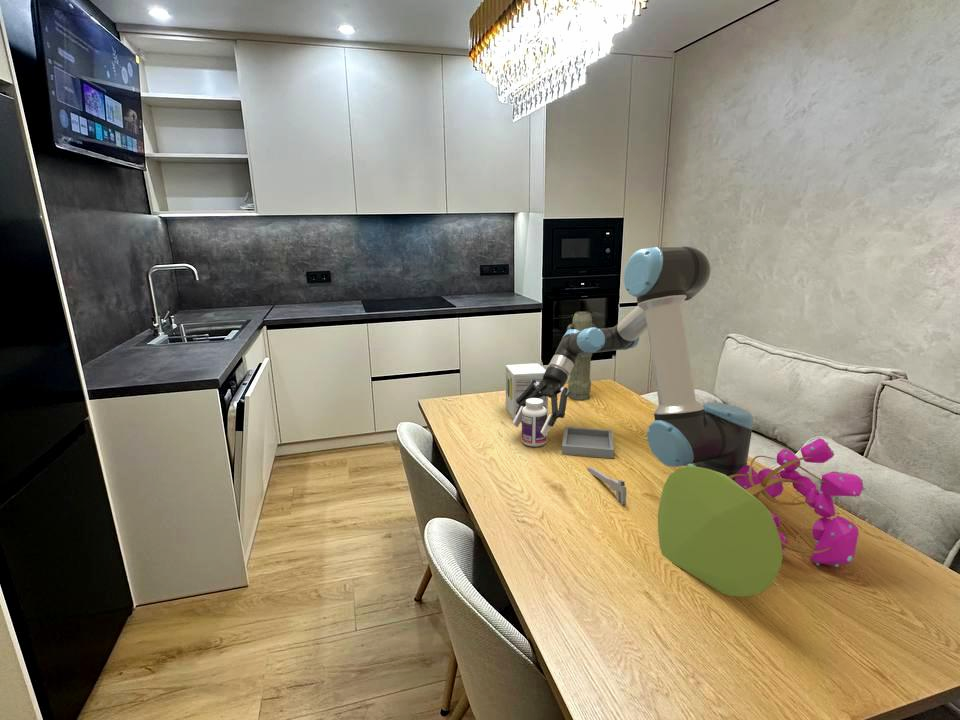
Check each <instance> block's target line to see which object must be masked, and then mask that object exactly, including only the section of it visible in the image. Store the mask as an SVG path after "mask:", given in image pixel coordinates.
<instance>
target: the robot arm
mask: <svg viewBox="0 0 960 720" xmlns="http://www.w3.org/2000/svg"><path fill="white" fill-rule="evenodd" d="M627 260H628V262H627V263H626V265H625V267H624V272H623V284H624V288H625V290H626V291H627V292H628V294H629V295H631V296H633V297H635V298H636V303H637V306H635V307H634V308H633V309H632V310H631V311H630V312H629V313H628V314H627V315H626V316H625V317H624V318H622V320H621V321H620V322H618V323H617V324H616V325H615V326H613V327H604V328H595V327H593V326H592V328H588V329H584V330H582V331H579V330H576V329H574V330H573V329H572V328H571V329H569V330H568V331H567V330H566V332H565V334H564V335H563V336H562V338H561V341H560V342H559V344H558V347H557V348H556V350H555V353H554V354H553V356H552V358H551V360H550V362H549V363H548V367H547V368H546V369H545V370H546V371H545V373H544V375H543V379H542V380H541V381H540V382H538V381H536V380H532V382H531V384H530V386H529V387H528V388H527V389H526V390H525V391H524V392H523V393H522V395H521V396H520V397H519V398H518V399H517V400H516V402H517V404H518V405H519V407H518V409H517V411H516V417H515V419H514V420H513V421H512V425H514V427H516V428H519V426H520V424H521V423H522V409H523V408H524V407H525V406H526V400H527V399H529V398H539V397H542V396H548V398H550V405H551V413H549V414H548V415H547V420H546V422H545V424H544V426H543V428H542V430H541V433H542V434H543V436H546V435H548V433H549V430H550V429H551V428H553V427H554V425H555V424H556V422H557V419H560V418H561V419H564V418H565V416H566V415H565V414H566V409H567V402H568V398H569V397H568V395H569V393H570V391H569V390H568V386H567V387H566V386H565V384H566V383H567V381H568V380H569V377H570V373H571V371H572V369H573V367H574V365H575V363H576V361H577V359H578V357H579V356H583V355H586V354H589V353H592V354H595V353H604V352H605V353H606V352H613V351H622V350H623V351H626V350H630V349H633V348H635V347H637V346H638V344H639V341H640V336H642V335H643V334H644V333H646V331H647V333H648V341H649V347H650V354H651V360H652V368H653V372H654V373H653V374H654V380H655V386H656V392H657V400H658V401H657V402H658V406H657V407H656V409H655V410H654V411H653V416H654V421H652V423H650V424H649V426H648V428H647V430H646V439H647V443H648V447H649V449H650V450H651V453H652V454H653V455H654V457H656V458H657V460H658V461H659V462H660V463H662V464H663V465H664V466H667V467H671V468H679V467H686V466H687V465H688V464H693V465H695V466H696V467H700V468H705V469H709V470H713V471H716V472H719V473H722V474H724V475H726V476H730V475H735V474H737V472H738V471H739V470H740V469H741V468H742V467H743V466H745V465H748V459H749V451H750V446H751V440H752V433H753V429H754V428H753V424H754V423H753V421H754V418H753V415H752V414H751V412H749V411H748V410H746V409H744V408H742V407H739V406H736V405H734V404H733V405H732V404H729V403H723V402H711V401H709V402H705V403H704V404H703V405H701V404H700V403H699V402H697V399H696V394H695V388H694V386H695V385H694V381H693V375H692V373H693V372H692V368H691V362H690V354H689V348H688V342H687V334H686V329H685V320H684V315H683V309H682V308H683V307H682V304H683V303H684V302H687V301H690V300H691V299H693V298H694V297H695V296H696V295H697V294H699V293H700V292H701V291H702V290H703V289H704V287H705V286H706V285H707V284H708V281H709V279H710V276H711V263H710V261H709V259H708V257H707V256H706V254H705V253H704V252H702V251H701V250H700V249H698V248H695V247H692V246H674V247H673V246H665V247H664V246H663V247H662V246H660V247H657V246H652V247H647V248H641V249H638V250H636V251H635V252H634V253H633V254H631V256H630V258H629V259H627ZM538 386H539V387H538ZM564 386H565V387H564ZM536 388H537V389H536ZM534 391H535V392H534ZM533 392H534V393H533ZM539 392H541V393H539ZM558 394H560V399H558ZM558 400H559V405H558ZM733 481H734V482H735V478H733Z"/></svg>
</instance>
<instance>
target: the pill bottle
mask: <svg viewBox="0 0 960 720" xmlns="http://www.w3.org/2000/svg"><path fill="white" fill-rule="evenodd" d="M547 418H548V411H547V410H546V408H545V407H543V400H542V399H539V398H529V399H527V400H526V406H525V407H524V408H523V409H522V420H521V443H523V444H524V445H525V446H528V447H532V448H533V447H541V446H544V445H545V444H546V443H547V438H548V437H547V435H548V434H547V435H546V436H543V434H542V433H541V430H542V428H543V426H544V424H545V422H546V420H547Z"/></svg>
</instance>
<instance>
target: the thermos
mask: <svg viewBox="0 0 960 720" xmlns="http://www.w3.org/2000/svg"><path fill="white" fill-rule="evenodd" d="M592 327H595V328H597V326H596V324H594V323H593V319H592V313H590V311H582V310H581V311H576V312H575V313H574V315H573V318H572V323H571V324H568V326H567V327H566V332H567V331H568V330H569V329H573V330H574V329H576V330H579V331H582V330H584V329H588V328H592ZM592 357H593V353H589V354H586V355H583V356H579V357H578V359H577V361H576V363H575V365H574V367H573V369H572V371H571V373H570V375H569V378H568V380H567V381H568V385H567V388H568V390H569V391H570V393H569V395H568V397H567V398H568V399H570V400H573V401H578V402H579V401H580V402H581V401H582V402H583V401H588V400H590V398H591V395H590V394H591V390H592V389H591V386H592V382H591V362H592V361H591V360H592Z"/></svg>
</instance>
